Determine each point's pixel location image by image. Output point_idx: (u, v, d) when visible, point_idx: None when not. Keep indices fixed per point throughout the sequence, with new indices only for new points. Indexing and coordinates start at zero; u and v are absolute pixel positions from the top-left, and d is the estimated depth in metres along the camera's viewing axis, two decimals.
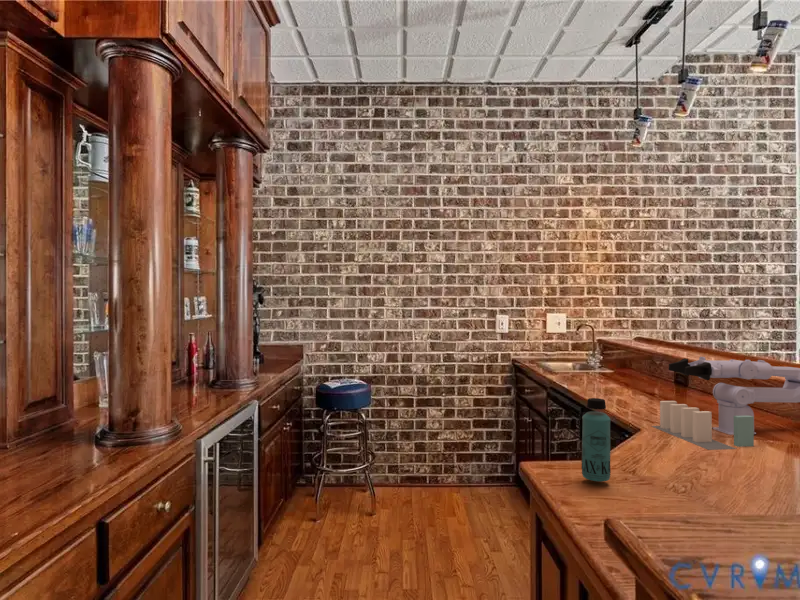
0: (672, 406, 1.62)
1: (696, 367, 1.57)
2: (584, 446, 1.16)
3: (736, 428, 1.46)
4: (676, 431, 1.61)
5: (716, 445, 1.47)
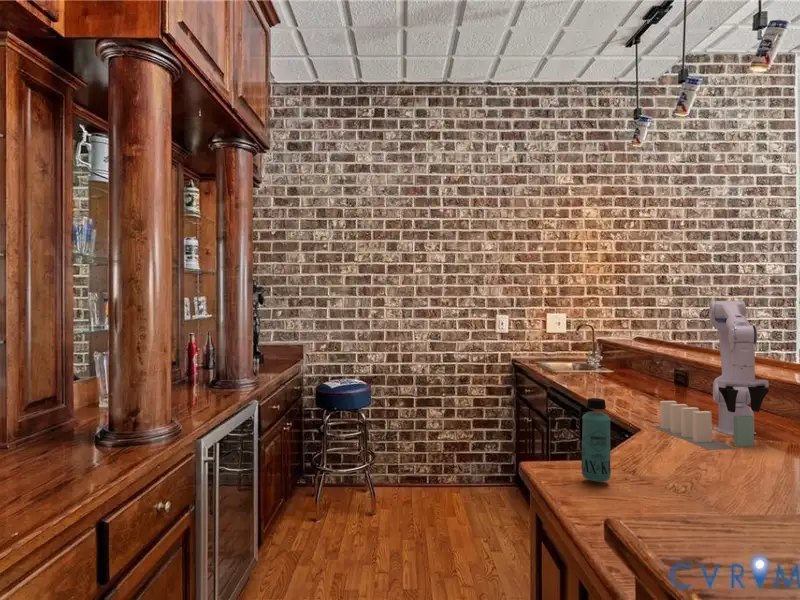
0: (672, 406, 1.62)
1: None
2: (584, 446, 1.16)
3: (736, 428, 1.46)
4: (676, 431, 1.61)
5: (716, 445, 1.47)
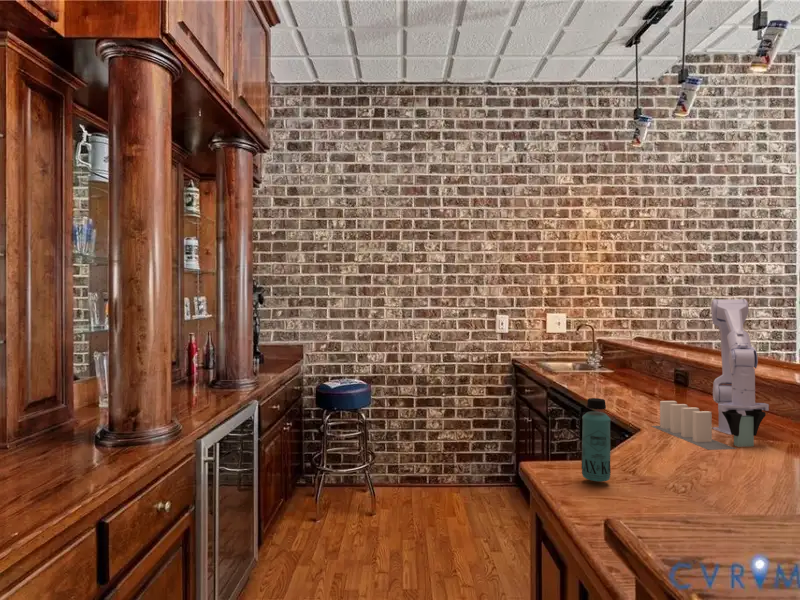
0: (672, 406, 1.62)
1: None
2: (584, 446, 1.16)
3: None
4: (676, 431, 1.61)
5: (716, 445, 1.47)
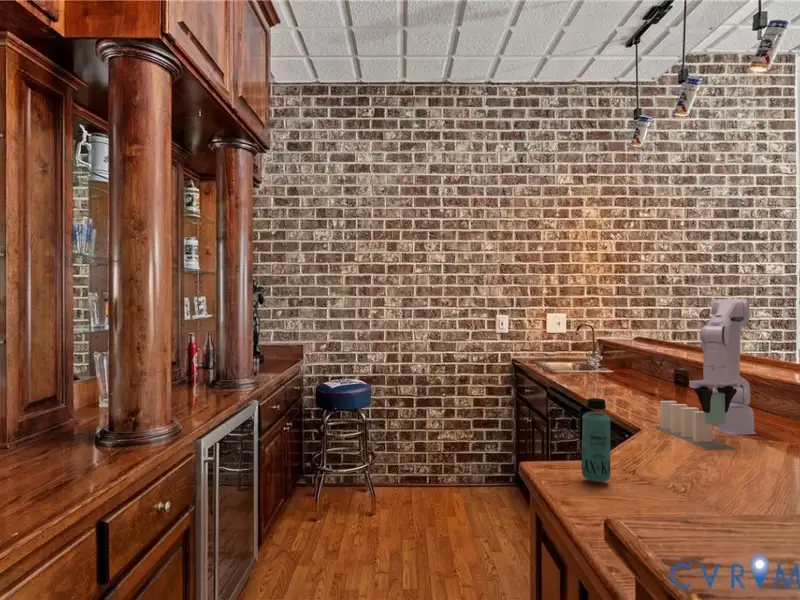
0: (672, 406, 1.62)
1: None
2: (584, 446, 1.16)
3: None
4: (676, 431, 1.61)
5: (716, 445, 1.47)
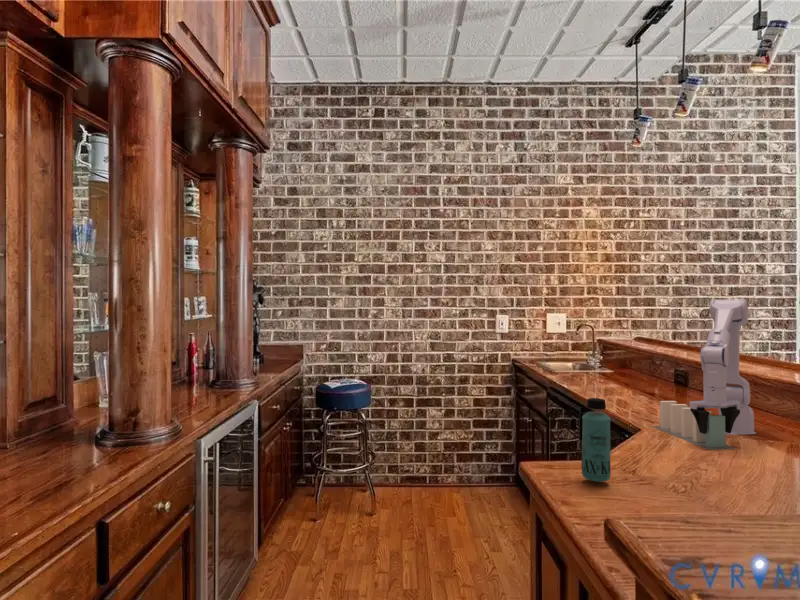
0: (672, 406, 1.62)
1: None
2: (584, 446, 1.16)
3: (708, 428, 1.45)
4: (676, 431, 1.61)
5: None
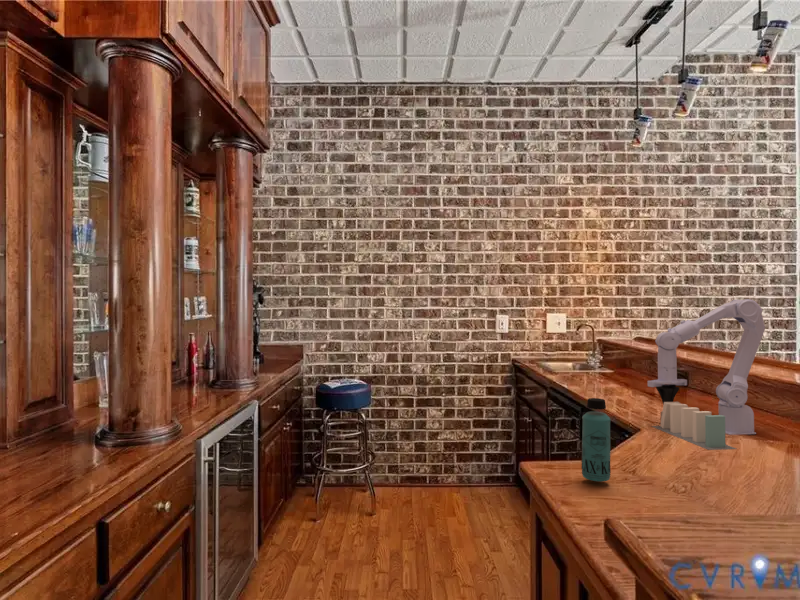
0: (672, 406, 1.62)
1: None
2: (584, 446, 1.16)
3: (708, 428, 1.45)
4: (676, 431, 1.61)
5: None
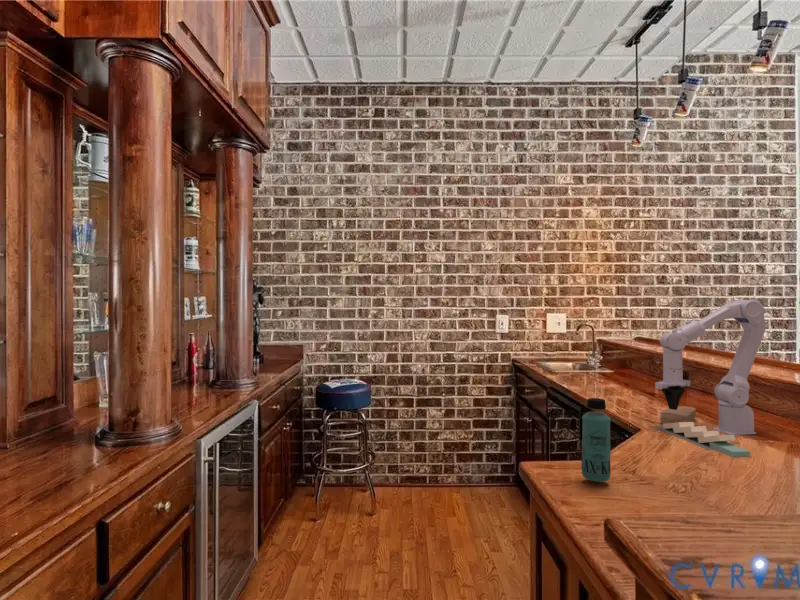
0: (690, 430, 1.53)
1: None
2: (584, 446, 1.16)
3: (723, 451, 1.39)
4: (677, 432, 1.61)
5: None
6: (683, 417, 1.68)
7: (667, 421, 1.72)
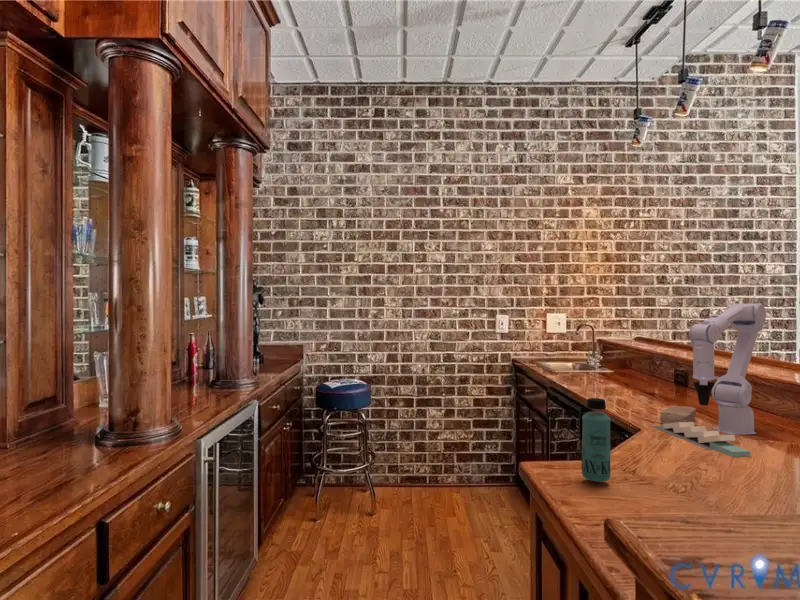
0: (690, 430, 1.53)
1: None
2: (584, 446, 1.16)
3: (723, 451, 1.39)
4: (677, 432, 1.61)
5: None
6: (683, 417, 1.68)
7: (667, 421, 1.72)
